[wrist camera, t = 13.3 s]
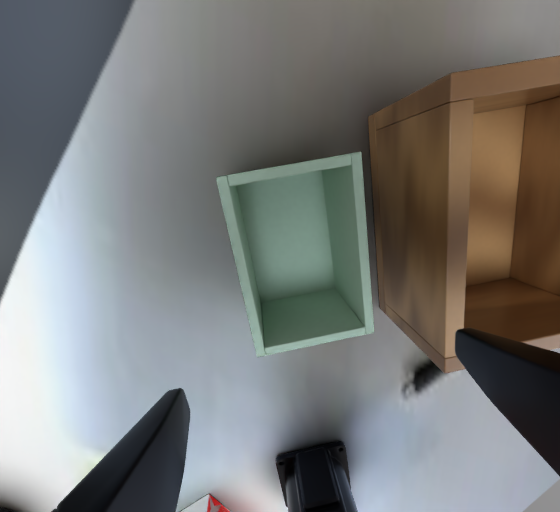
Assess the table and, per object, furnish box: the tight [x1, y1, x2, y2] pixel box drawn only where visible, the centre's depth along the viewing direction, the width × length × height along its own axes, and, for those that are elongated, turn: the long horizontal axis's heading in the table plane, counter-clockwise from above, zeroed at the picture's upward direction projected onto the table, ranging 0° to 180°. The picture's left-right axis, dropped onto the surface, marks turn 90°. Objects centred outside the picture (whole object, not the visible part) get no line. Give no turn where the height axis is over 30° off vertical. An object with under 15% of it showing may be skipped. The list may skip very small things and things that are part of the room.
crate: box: [368, 55, 560, 373], centre depth 16 cm, size 14×11×8 cm
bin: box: [216, 152, 374, 357], centre depth 16 cm, size 10×7×6 cm
